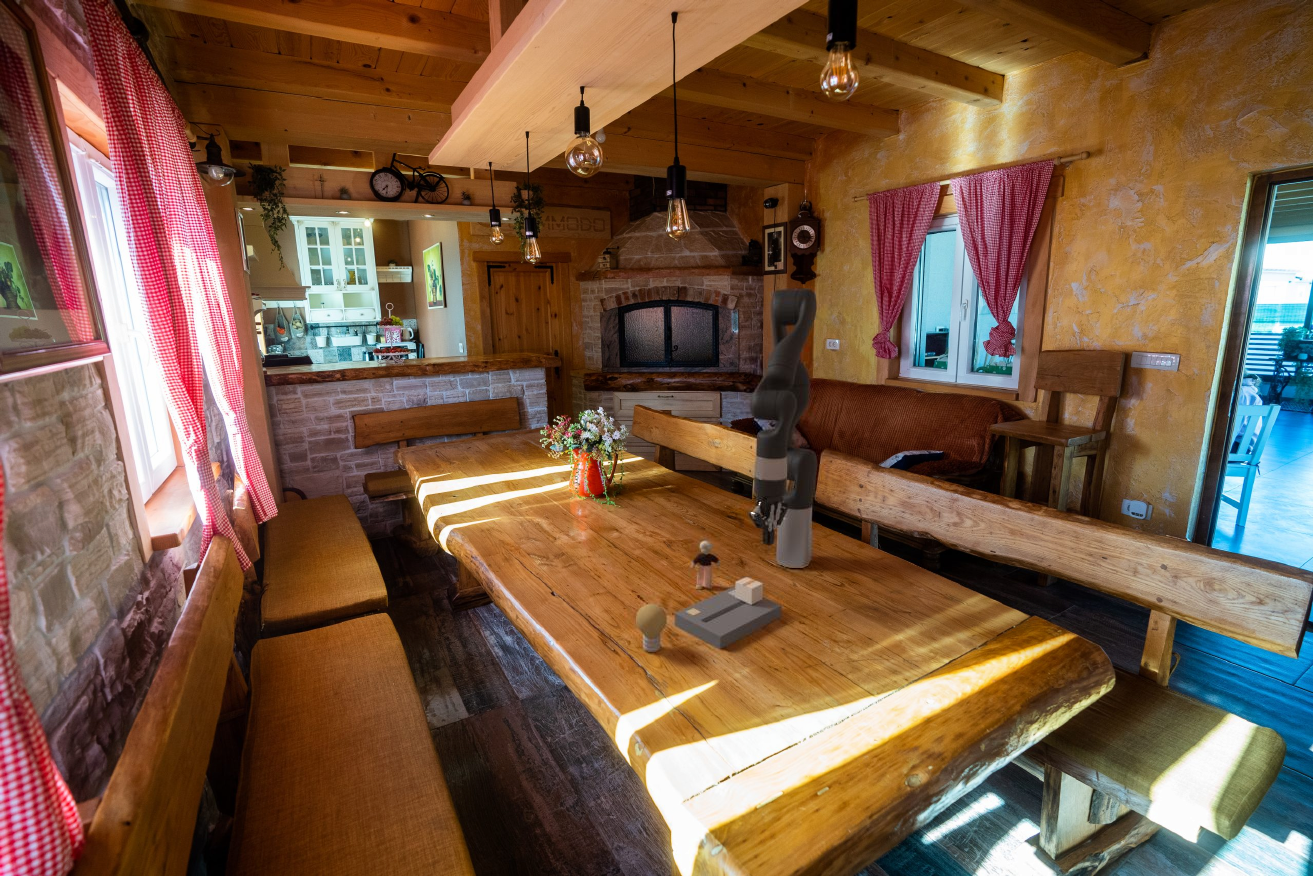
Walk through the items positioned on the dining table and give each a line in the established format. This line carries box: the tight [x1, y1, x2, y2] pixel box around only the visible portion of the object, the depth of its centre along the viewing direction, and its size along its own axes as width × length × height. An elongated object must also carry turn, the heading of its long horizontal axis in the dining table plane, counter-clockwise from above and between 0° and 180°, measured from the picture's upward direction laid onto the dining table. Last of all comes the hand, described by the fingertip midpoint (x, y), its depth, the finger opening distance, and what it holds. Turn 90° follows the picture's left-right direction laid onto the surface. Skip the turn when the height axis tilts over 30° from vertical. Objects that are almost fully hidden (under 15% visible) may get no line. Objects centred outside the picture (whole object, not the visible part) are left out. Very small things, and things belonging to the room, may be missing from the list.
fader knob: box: [734, 576, 764, 605], centre depth 149 cm, size 4×5×4 cm
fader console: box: [674, 585, 783, 650], centre depth 145 cm, size 21×14×3 cm, turn 132°
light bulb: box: [635, 603, 668, 653], centre depth 133 cm, size 6×6×10 cm
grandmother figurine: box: [690, 540, 722, 590], centre depth 161 cm, size 8×4×13 cm, turn 105°
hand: (768, 544), depth 151 cm, fingers closed
